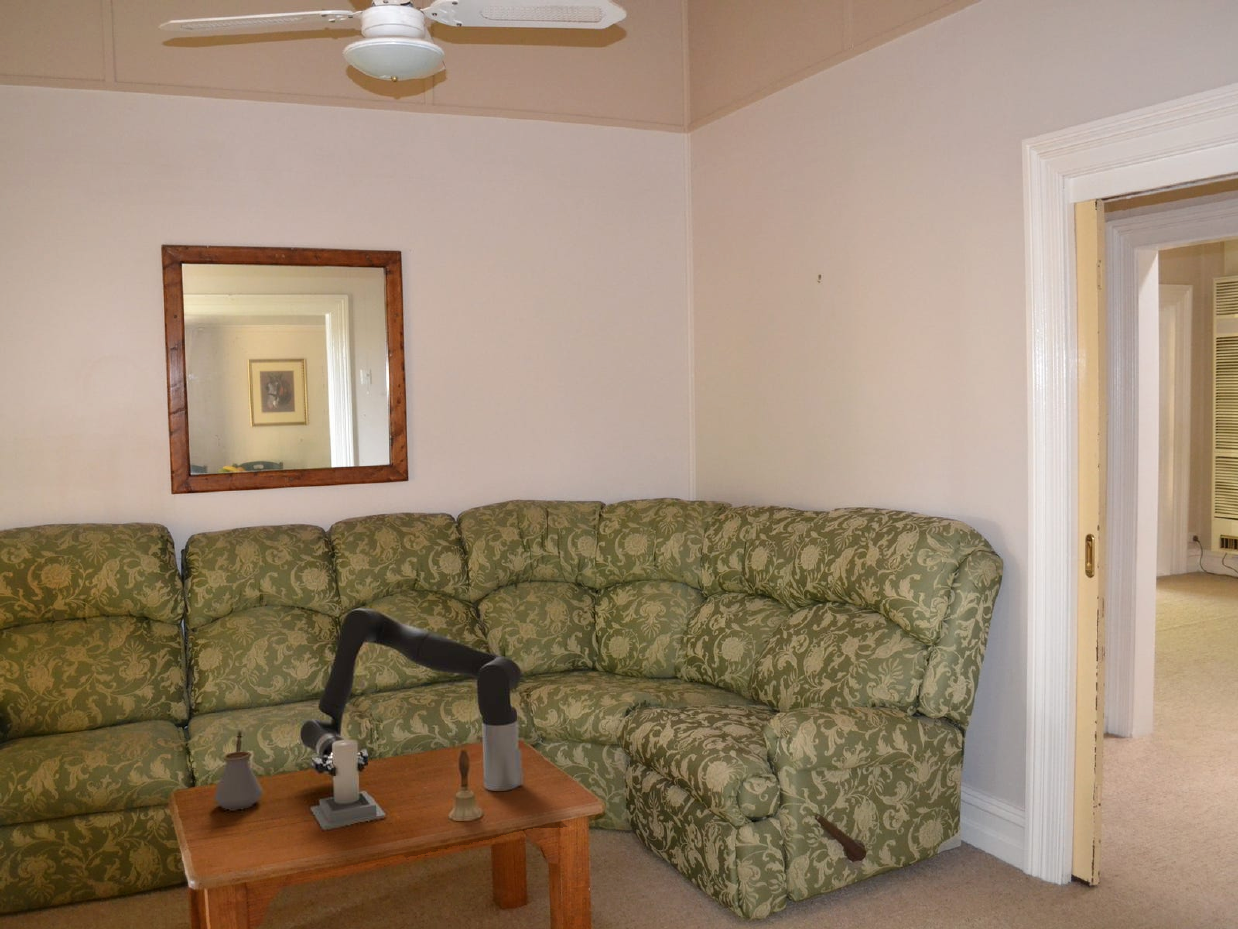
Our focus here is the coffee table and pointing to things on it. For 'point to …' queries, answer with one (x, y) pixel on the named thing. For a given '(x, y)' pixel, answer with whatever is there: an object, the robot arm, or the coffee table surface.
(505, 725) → the robot arm
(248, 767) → the coffee pot
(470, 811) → the hand bell
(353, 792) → the candle
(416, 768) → the coffee table surface
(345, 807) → the candle dish
